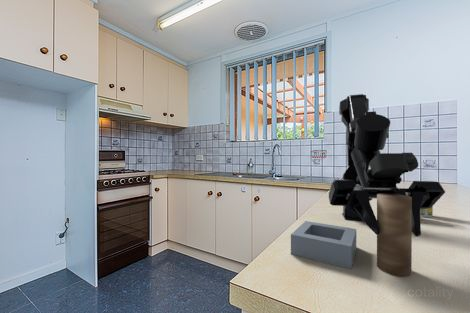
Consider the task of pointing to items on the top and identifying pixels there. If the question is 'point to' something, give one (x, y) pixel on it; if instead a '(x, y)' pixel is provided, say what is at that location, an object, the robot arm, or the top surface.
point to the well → (325, 243)
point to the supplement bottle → (427, 212)
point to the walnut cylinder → (394, 234)
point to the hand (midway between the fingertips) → (398, 234)
